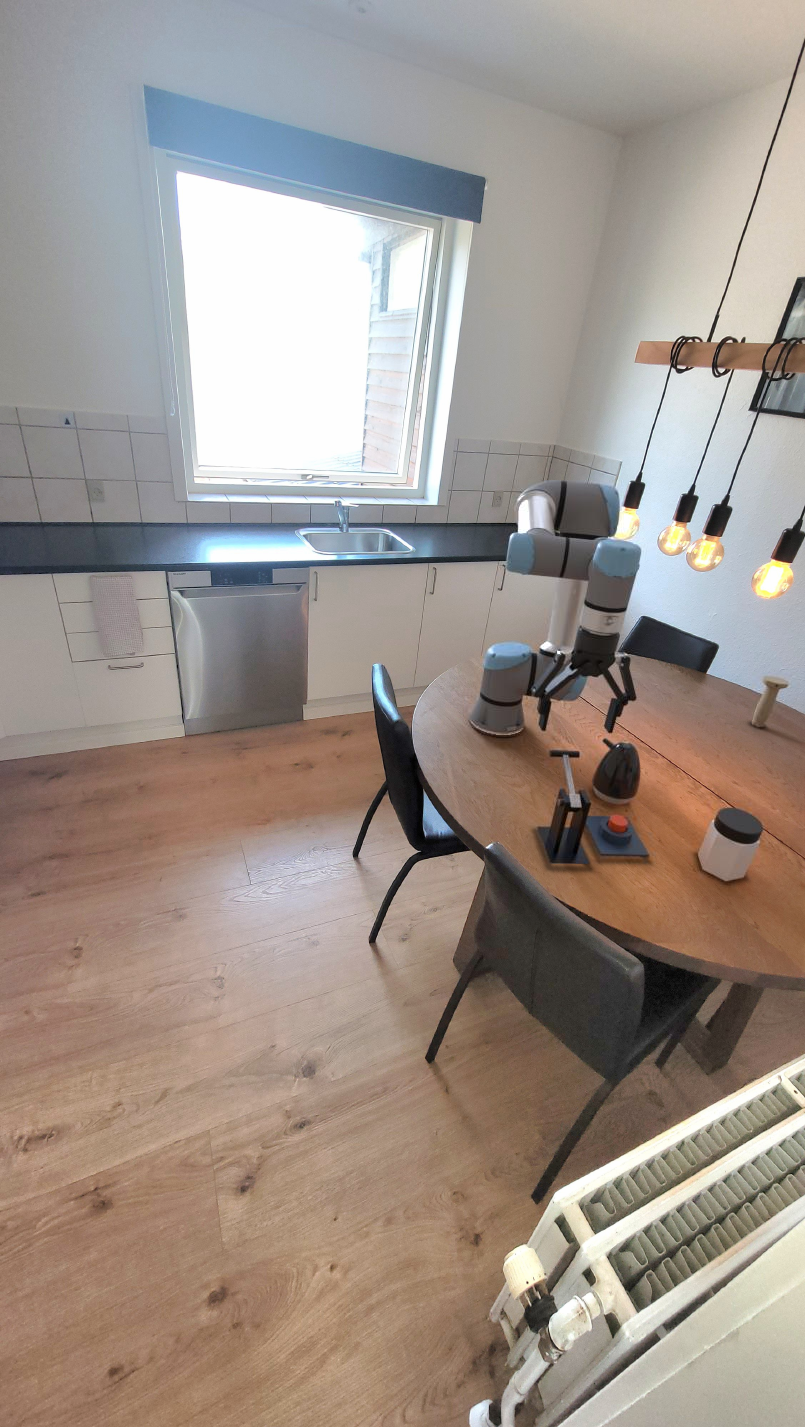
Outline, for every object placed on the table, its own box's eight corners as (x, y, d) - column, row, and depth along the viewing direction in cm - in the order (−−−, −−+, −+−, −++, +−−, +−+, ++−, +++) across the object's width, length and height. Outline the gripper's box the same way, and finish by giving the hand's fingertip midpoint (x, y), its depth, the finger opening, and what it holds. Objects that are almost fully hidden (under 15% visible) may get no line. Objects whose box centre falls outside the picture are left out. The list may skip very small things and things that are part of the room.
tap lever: (548, 753, 122) (551, 747, 120) (576, 754, 123) (580, 748, 121) (557, 811, 115) (561, 806, 113) (587, 812, 115) (591, 807, 113)
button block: (580, 822, 129) (584, 807, 127) (624, 823, 130) (629, 808, 128) (599, 860, 119) (603, 845, 117) (646, 861, 119) (652, 846, 118)
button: (605, 822, 124) (607, 814, 123) (621, 822, 124) (624, 814, 123) (611, 833, 121) (613, 825, 120) (628, 833, 121) (630, 826, 120)
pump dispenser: (597, 779, 144) (612, 726, 137) (639, 798, 139) (657, 743, 131) (580, 798, 137) (595, 742, 130) (623, 818, 131) (641, 761, 124)
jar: (749, 867, 120) (771, 822, 114) (737, 888, 114) (759, 841, 109) (704, 845, 125) (723, 800, 119) (690, 864, 120) (709, 818, 114)
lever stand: (535, 831, 125) (547, 778, 119) (572, 832, 126) (586, 779, 119) (549, 868, 116) (563, 813, 109) (588, 869, 116) (605, 814, 110)
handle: (770, 731, 172) (790, 685, 165) (746, 726, 174) (765, 681, 167) (767, 724, 176) (786, 679, 169) (744, 719, 178) (762, 674, 171)
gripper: (537, 633, 103) (518, 736, 113) (674, 639, 105) (642, 740, 115) (527, 618, 109) (509, 717, 120) (656, 624, 111) (628, 721, 122)
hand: (575, 728), depth 117 cm, fingers open, 13 cm apart
